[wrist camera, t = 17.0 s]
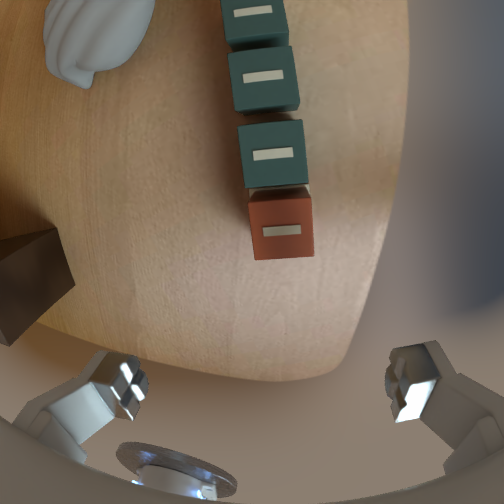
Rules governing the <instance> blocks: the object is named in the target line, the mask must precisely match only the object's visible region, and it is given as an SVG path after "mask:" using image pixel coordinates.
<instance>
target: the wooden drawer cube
mask: <svg viewBox="0 0 504 504" xmlns="http://www.w3.org/2000/svg"><path fill="white" fill-rule="evenodd" d="M247 204H248V212H249V219H250V227H251V235H252V243H253V250H254V258H255V260H267V259H282V258H297V257H311V256H314V237H313V218H312V203H311V197H310V194H309V192H308V190H307V188H306V187H297V188H284V189H272V190H261V191H254V192H253V194H252V196H251V198H250V199H249V201H248V203H247Z"/></svg>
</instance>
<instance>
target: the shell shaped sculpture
mask: <svg viewBox="0 0 504 504" xmlns="http://www.w3.org/2000/svg"><path fill="white" fill-rule="evenodd" d="M154 6H155V0H51V1H50V3H49V4H48V6H47V8H46V9H45V23H44V28H43V41H44V44H45V47H46V48H45V62H46V66H47V69H48V71H49V72H50V73H51V74H53V75H54V76H56V77H58V78H60V79H62V80H64V81H67V82H69V83H71V84H74V85H76V86H78V87H80V88H83V89H88V88H90V87H91V85H92V81H93V77H94V73H95V72H97V71H105V70H109V69H113V68H116V67H119V66H120V65H122V64H123V63H125V62H126V61H127V60H128V59H129V58H130V57H131V56H132V54H133V53H134V52H135V51H136V49H137V48H138V46H139V44H140V43H141V41H142V39H143V37H144V35H145V33H146V31H147V29H148V26H149V23H150V20H151V17H152V14H153V10H154Z"/></svg>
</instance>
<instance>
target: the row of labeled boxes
mask: <svg viewBox="0 0 504 504" xmlns="http://www.w3.org/2000/svg"><path fill="white" fill-rule="evenodd" d="M220 3H221V11H222V18H223V26H224V33H225V40H226V41H227V43H228V44H229V46H230V48H231V49H232V51H233V53H228V54H227V57H228V64H229V72H230V79H231V87H232V95H233V102H234V110H235V111H237V112H239V113H240V114H242V115H244V116H245V115H253V114H261V113H271V112H281V111H293V110H297V109H298V107H299V105H300V97H299V90H298V83H297V76H296V70H295V63H294V57H293V51H292V46H289V29H288V24H287V19H286V13H285V9H284V4H283V0H220ZM237 132H238V140H239V147H240V155H241V163H242V170H243V178H244V186H245V188H253V187H263V186H274V185H286V184H299V183H308V182H309V181H308V169H307V158H306V148H305V139H304V130H303V121H302V120H301V119H299V120H286V121H275V122H265V123H256V124H248V125H240V126H237ZM297 187H306V188H307V190H308V192H309V194H310V188H309V184H300V185H287V186H275V187H264V188H253V189H249V195H250V198H251V196H252V194H253V192H254V191H261V190H272V189H284V188H297Z"/></svg>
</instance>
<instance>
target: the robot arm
mask: <svg viewBox="0 0 504 504" xmlns="http://www.w3.org/2000/svg"><path fill="white" fill-rule="evenodd" d="M389 359H390V362H391V364H390V366H388V368H387V369H386V373H385V388H386V393H387V396H388V397H390V398H391V399H392V400H393V401H392V404H391V409H392V413H393V417H394V420H395V423H397V422H402V421H407V420H411V419H416V418H420V420H421V421H423V422H424V423H425V424H426V425H427V426H428V427H429V428H430V429H431V430H432V431H434V432H435V433H436V434H437V435H438V436H439V437H440V438H441V439H442V440H444V441H445V442H446V443H447V444H448V445H449V446H450V447H451V448H452V449H454V452H453V453H452V454H451V455H450V456H449V457H448V459H447V460H446V461H445V462H444V464H443V466H444V470H445V474H446V475H445V476H442V477H439V478H437V479H434V480H431V481H428V482H425V483H422V484H419V485H415V486H412V487H408V488H405V489H401V490H397V491H393V492H389V493H385V494H380V495H376V496H370V497H365V498H360V499H353V500H346V501H339V502H330V503H320V504H504V397H502V396H500V395H499V394H497V393H495V392H493V391H492V390H490V389H488V388H486V387H484V386H483V385H481V384H479V383H477V382H476V381H474V380H472V379H470V378H468V377H467V376H465V375H463V374H461V373H459V374H457V373H456V372H455V370H454V368H453V366H452V365H451V363H450V361H449V360H448V358H447V356H446V355H445V353H444V351H443V349H442V348H441V346H440V344H439V343H438V342H437V341H436V340H434V341H429V342H424V343H421V344H415V345H410V346H404V347H399V348H393V349H392V351H391V353H390V357H389ZM139 367H140V361H139V359H138V357H137V356H134V355H130V354H123V353H116V352H108V351H103V350H100V351H98V352H96V354H95V355H94V356H93V358H92V359H91V360H90V362H89V363H88V364H87V366H86V367H85V368H84V369H83V371H82V372H81V373H80V375H79V376H78V377H77V378H72V379H71V380H69V381H67V382H65V383H63V384H61V385H59V386H57V387H55V388H53V389H51V390H50V391H48V392H46V393H44V394H42V395H40V396H38V397H36V398H34V399H33V400H30V401H28V402H27V404H26V405H25V406H24V408H23V409H22V410H21V412H20V413H19V415H18V416H17V417H16V419H15V420H14V421H13V423H12V424H11V423H10V422H8V421H7V420H5V419H4V418H2V417H1V416H0V504H240V503H230V502H221V501H216V500H217V495H216V487H215V485H213V484H210V483H207V482H204V481H201V480H198V479H196V478H194V477H192V476H189V475H187V474H184V473H181V472H178V471H175V470H172V469H168V468H164V467H160V466H154V465H145V466H143V468H137V471H136V472H137V473H138V474H139V478H138V481H137V483H136V482H135V481H132V482H130V481H127V480H124V479H121V478H118V477H115V476H112V475H109V474H107V473H104V472H102V471H99V470H97V469H94V468H92V467H90V466H87V465H85V464H84V462H85V460H86V458H87V453H86V451H85V450H83V448H82V447H81V446H80V444H81V443H82V442H84V441H85V440H86V439H88V438H89V437H90V436H91V435H93V434H94V433H95V432H97V430H99V429H101V428H102V427H103V426H104V425H106V424H107V423H108V422H109V421H111V420H112V419H113V418H114V417H118V418H123V419H128V420H132V421H134V419H135V417H136V415H137V413H138V411H139V409H140V404H139V401H141V400H142V399H144V398H145V396H146V394H147V392H148V385H149V383H148V378H147V376H146V374H145V372H144V371H142V370H141V369H140V368H139Z"/></svg>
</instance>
